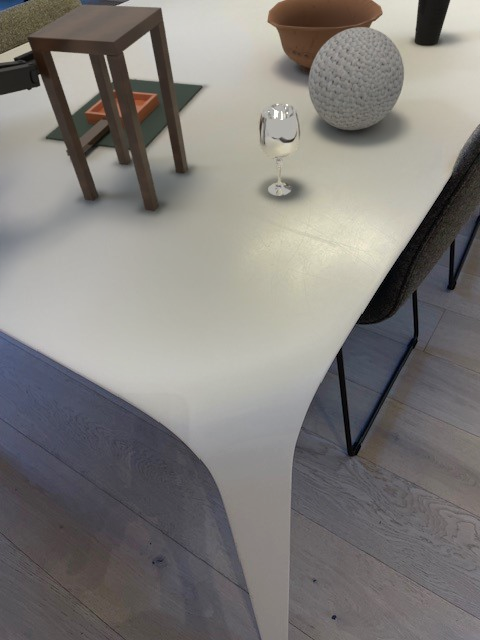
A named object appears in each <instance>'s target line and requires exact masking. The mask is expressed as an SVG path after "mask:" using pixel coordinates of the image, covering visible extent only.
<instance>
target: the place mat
mask: <svg viewBox="0 0 480 640" xmlns="http://www.w3.org/2000/svg"><path fill="white" fill-rule="evenodd" d="M129 79H130V83H131V87H132V92H141V93H152V94H158V100H159V105H158V106H157V107H156V108H155V109H154V110H153V111H152V112H151V113H150V114H149V115H148V116H147V117H146V118H145V119H144V120H143V121H142V122H141V123H140V127H141V131H142V135H143V140H144V144H145V148H146V149H147V148H148V146H150V144H151V143H152V142H153V141H154V140H155V139H156V138H157V137H158V136H159V135H160V134H161V133H162V132H163V131H164V130H165V129H166V127H168V126H167V121H166V116H165V110H164V105H163V100H162V94H161V89H160V84H159V81H154V80H141V79H132V78H129ZM111 84H112V88H113V90H115V88H114V84H113V81H111ZM174 87H175V93H176V99H177V105H178V111H179V113H180V112H181V111H182V110H183V109H184V108H185V107H186V106H187V104H188V103H190V102H191V101H192V100H193V98H194V97H195V96H196V95H197V94H198V93H199V92H200V91H201V90H202V89H203V85H201V84H189V83H178V82H174ZM99 100H101V97H100V93H99V92H98V93H97V94H96V95H94V96H93V97H92V98H91V99H90V100H89V101H87V102H86V103H85V104H83V105H82V106H81V107H80V108H79V109H77V110H76V111H75V112H74V113H73V114H71V115H72V118H73V121H74V124H75V127H76V130H77V133H78V136H79V139H80V138H81V137H82V136H83V135H84V134H85V133H86V132H87V131H89V130H90V129H91V128H92V127H93V126H94V125H95V124H92V123H88V121H87V118H86V115H85V112H86V111H87V110H89V109H90V108H91V107H92V106H93V105H95V104H96V103H97V102H98V101H99ZM123 131H124V135H125V138H126V142H127V146H128V150H129V151H130V147H129V143H128V139H127V135H126V131H125V127H123ZM45 139H46V140H52V141H59V142H60V141H61V142H64V139H63V136H62V134H61V131H60V128H59V125H58V126H57V127H56V128H54V129H53V130H52V131H51V132H49V134H47V135H46V136H45ZM92 146H97V147H105V148H112V149H115V147H114V143H113V139H112V136H111V132H110V130H109V131H108V132H106V133H105V134H104V135H103V136H102V137H101V138H100V139H99V140H98V141H97V142H96V143H95V144H93V145H92Z"/></svg>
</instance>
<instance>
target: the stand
mask: <svg viewBox="0 0 480 640" xmlns="http://www.w3.org/2000/svg"><path fill="white" fill-rule="evenodd" d="M148 33H149V35H150V36H149V37H150V39H151V45H152V51H153V56H154V62H155V67H156V73H157V77H158V82H159V84H160V89H161V94H162V100H163V105H164V110H165V116H166V121H167V126H166V127H167V131H168V137H169V142H170V147H171V153H172V159H173V163H174V168H175V169H174V170H175V172H176V173H179V174H185V173H186V172H187V171H188V169H189V166H188V160H187V154H186V148H185V142H184V136H183V129H182V124H181V123H182V122H181V118H180V112H179V111H178V105H177V99H176V93H175V87H174V83H175V82H174V76H173V70H172V69H173V68H172V64H171V58H170V52H169V51H170V50H169V47H168V39H167V34H166V33H167V32H166V27H165V22H164V17H163V9H162V7H156V6H128V5H103V4H80V5H79V6H77V7H75V8H73V9H72V10H70V11H68V12H67V13H64V14H63V15H62V16H60V17H58V18H56V19H54V20H53V21H52V22H50V23H48V24H46V25H45V26H43V27H41V28H39V29H37V30H36V31H34V32H32V33H31V34H29V35H27V37H26V38H27V41H28V44H29V47H30V49H31V51H32V53H33V55H34V58H35V61H36V64H37V67H38V69H39V72H40V75H39V76H40V77H41V78H40V79H41V81H42V84H43V86H44V88H45V92H46V95H47V97H48V100H49V102H50V105H51V108H52V111H53V113H54V117H55V119H56V122H57V125H58V126H59V128H60V131H61V134H62V136H63V139H64V141H63V142H64V144H65V145H64V146H65V147H66V150H68V153H69V156H68V157H69V159H70V161H71V164H72V167H73V170H74V172H75V175H76V178H77V181H78V184H79V186H80V189H81V192H82V195H83V198H84V200H85V201H92V202H94V201H95V200H96V198H98V196H99V193H98V191H97V188H96V185H95V182H94V178H93V176H92V172H91V169H90V166H89V163H88V160H87V158H86V154H85V153H84V151H83V148H82V145H81V142H80V139H79V136H78V133H77V130H76V127H75V124H74V121H73V118H72V115H73V114H72V112H71V109H70V106H69V103H68V99H67V97H66V94H65V90H64V89H63V85H62V82H61V79H60V75H59V73H58V70H57V67H56V63H55V61H54V58H53V55H52V52H56V53H69V54H82V55H83V54H84V55H88V57H89V61H90V65H91V67H92V72H93V75H94V78H95V82H96V86H97V89H98V93H100V97H101V100H102V104H103V107H104V111H105V114H106V118H107V122H108V125H109V129H110V132H111V136H112V139H113V143H114V147H115V148H114V150H115V153H116V158H117V160H118V165H122V166H123V165H125V166H127V165H129V163H130V162H131V161H132V162H133V167H134V171H135V175H136V179H137V182H138V186H139V190H140V194H141V198H142V201H143V206H144V209H145V210H146V211H148V212H149V211H151V212H155V211H156V210H157V208H158V207H159V206H160V205H159V202H158V196H157V192H156V187H155V184H154V183H155V182H154V179H153V175H152V171H151V167H150V166H151V165H150V162H149V157H148V153H147V147H146V148H145V144H144V140H143V135H142V131H141V127H140V122H139V118H138V114H137V109H136V105H135V100H134V96H133V92H132V87H131V83H130V79H131V78H130V75H129V70H128V67H127V61H126V57H125V53H124V51H126V50H127V49H128V48H129V47H131V46H132V45H133V44H135V43H136V42H137V41H139V40H140V39H141V38H142V37H145V35H146V34H148ZM106 61H107V62H106ZM109 72H110V73H109ZM110 76H111V77H110ZM112 82H113V84H114V88H115V92H116V96H117V100H118V104H119V108H120V112H121V116H122V120H123V124H124V127H125V131H126V135H127V139H128V143H129V147H130V150H128V146H127V142H126V138H125V135H124V131H123V127H122V123H121V119H120V115H119V111H118V107H117V104H116V100H115V96H114V92H113V88H112V84H111V83H112ZM130 154H131V155H130Z"/></svg>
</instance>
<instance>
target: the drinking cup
mask: <svg viewBox="0 0 480 640" xmlns="http://www.w3.org/2000/svg"><path fill="white" fill-rule="evenodd" d="M450 3H451V0H418V3H417V12H416V22H415V23H416V24H415V33H414V34H415V35H414V43H415V44H416V45H417V46H421V47H422V46H424V47H431V46H435V45H437V44H438V43H439V40H440V36H441V33H442V30H443V26H444V23H445V20H446V17H447V14H448V9H449V5H450Z"/></svg>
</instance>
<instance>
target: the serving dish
mask: <svg viewBox="0 0 480 640" xmlns="http://www.w3.org/2000/svg"><path fill="white" fill-rule="evenodd" d="M113 92H114V96H115V100H116V104H117V107H118V111H119V115H120V119H121V123H122V127H124V124H123V120H122V116H121V112H120V108H119V104H118V100H117V96H116V92H115V90H113ZM133 96H134V100H135V105H136V109H137V114H138V118H139V122H140V123H141V122H142V121H143V120H144V119H145V118H146V117H147V116H148V115H149V114H150V113H151V112H152V111H153V110H154V109H155V108H156V107H157V106H158V105H159V100H158V94H152V93H141V92H133ZM85 115H86V118H87V121H88V123H92V124H95V125H94V126H93V127H92V128H91V129H90V130H89V131H87V132H86V133H85V134H84V135H83V136H82V137H81V138H80V142H81V145H82V148H83V151H84V154H85V153H86V152H87V151H88V150H89V149H90V148H92V147H93V146H94V145H93V144H95V143H96V142H97V141H98V140H99V139H100V138H101V137H102V136H103V135H104V134H105V133H106V132H108V131H109V130H110V129H109V125H108V122H107V118H106V114H105V111H104V107H103V104H102V100H99V101H98V102H97V103H96V104H95V105H93V106H92V107H91V108H90V109H89V110H87V111H86V112H85ZM65 152H66V155H67V156H68V157H70V156H69V153H68V150H67V149H66V150H65Z"/></svg>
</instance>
